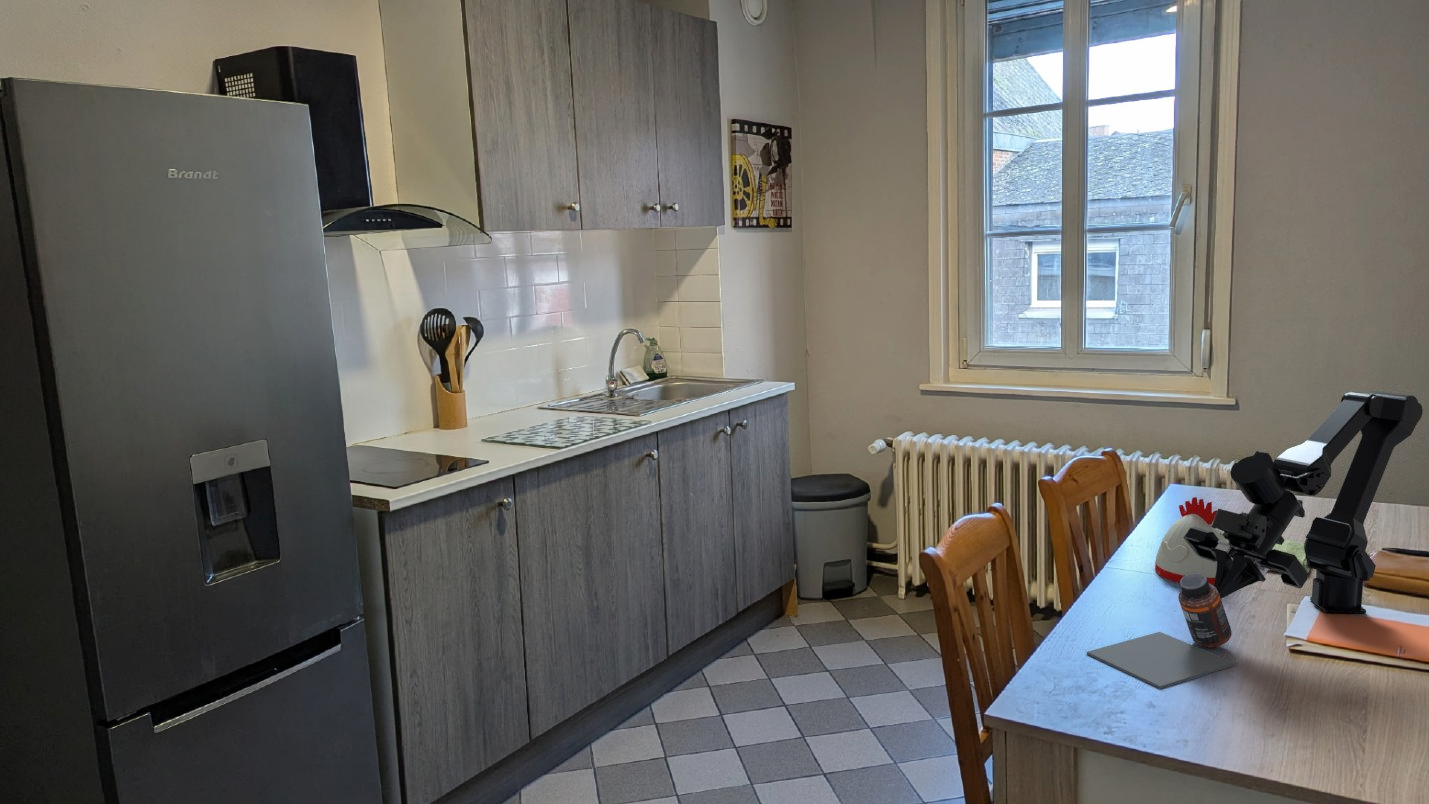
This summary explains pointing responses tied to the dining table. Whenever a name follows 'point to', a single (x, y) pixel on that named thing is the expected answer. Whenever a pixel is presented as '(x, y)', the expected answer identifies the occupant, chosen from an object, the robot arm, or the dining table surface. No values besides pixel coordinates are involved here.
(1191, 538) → the robot arm
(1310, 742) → the dining table surface
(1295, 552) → the washcloth
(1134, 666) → the mat
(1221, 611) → the supplement bottle
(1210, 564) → the kitchen timer
